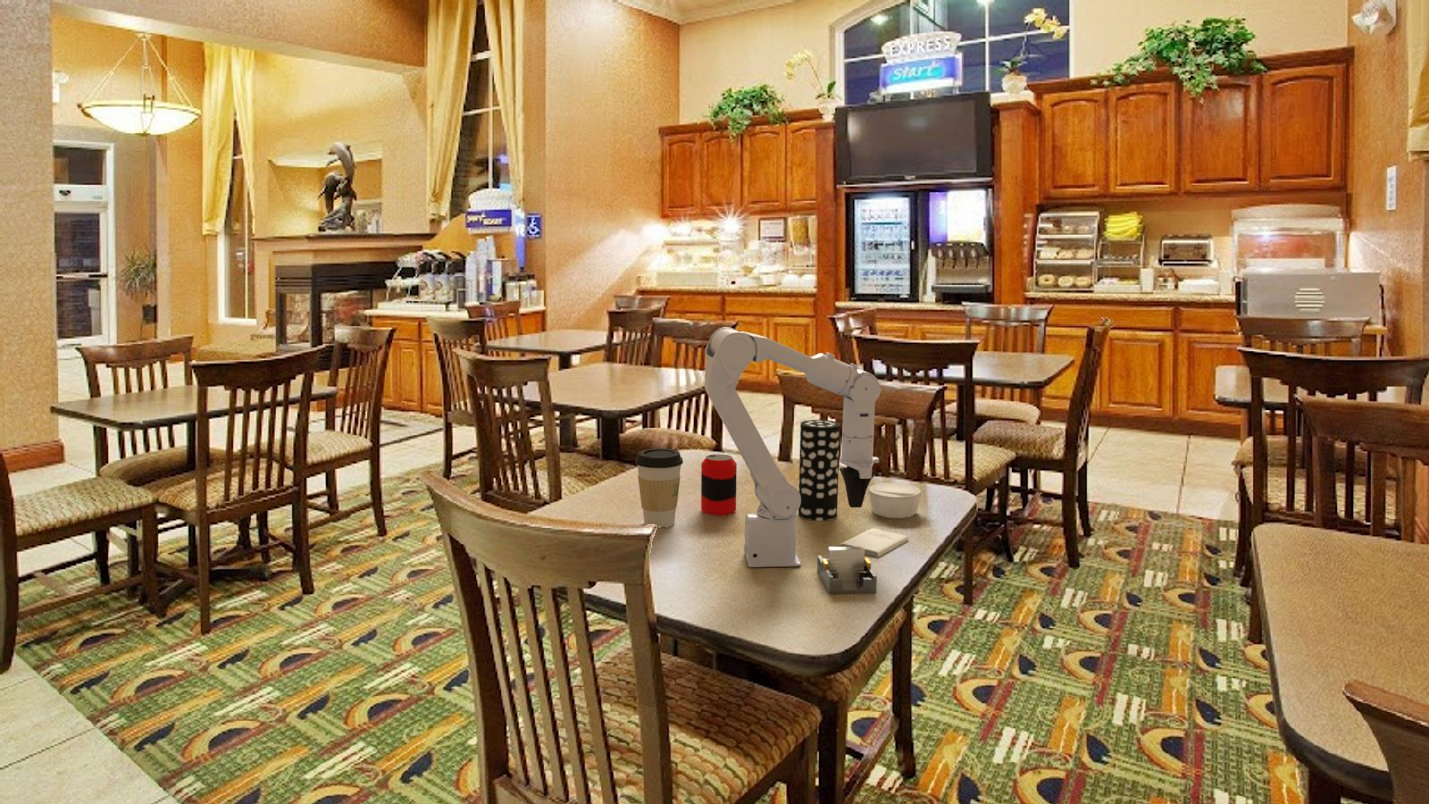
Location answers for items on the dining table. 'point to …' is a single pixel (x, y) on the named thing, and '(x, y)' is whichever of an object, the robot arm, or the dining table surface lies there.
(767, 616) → the dining table surface
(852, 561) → the grey flat square block
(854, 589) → the rack
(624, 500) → the dining table surface
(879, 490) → the ramekin
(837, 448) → the spotted tube
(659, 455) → the coffee cup
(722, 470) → the soda can
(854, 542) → the external hard drive
